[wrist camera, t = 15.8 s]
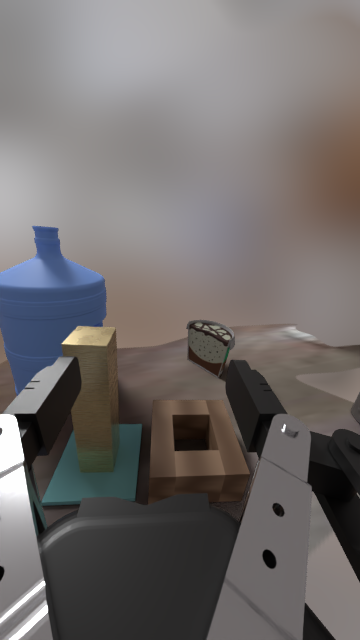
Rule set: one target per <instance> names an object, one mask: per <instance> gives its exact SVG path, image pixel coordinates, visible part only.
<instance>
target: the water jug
mask: <svg viewBox="0 0 360 640" xmlns="http://www.w3.org/2000/svg"><path fill="white" fill-rule="evenodd" d="M32 227H33V229H34V231H35V238H34V239H35V243H36V247H37V254H36V256H35V257H34V258H32V259H30V260H27V261H25V262H23V263H21V264H18V265H16V266H14V267H12V268H9V269H7V270H5V271H3V272H1V273H0V328H1V332H2V336H3V340H4V348H5V352H6V356H7V359H8V361H9V363H10V367H11V370H12V374H13V378H14V382H15V390H16V394H17V396H18V395H19V394H20V393H21V391H22V390H23V389H25V387H26V386H27V384H28V383H29V382H31V380H32V379H33V377H34V376H35V375H36V374H37V373H38V372H39V371H41V370H43V369H44V368H46V367H47V366H52V365H53V364H54V363H55V362H56V360H57V359H58V358H59V357H60V356H63V353H62V346H61V344H62V343H63V342H64V341H65V340H66V338H67V337H68V336H69V335H70V334H71V333H72V332H73V331H74V330H75V329H76V328H77V327H78V326H90V327H103V323H102V320H103V319H104V318H105V317H106V288H105V280H104V278H103V276H101V275H100V274H99V273H96V272H94V271H92V270H90V269H87V268H85V267H83V266H81V265H79V264H77V263H75V262H72V261H70V260H68V259H66V258H64V257H63V256H62V254H61V251H60V240H59V239H58V228H52V227H41V226H32Z"/></svg>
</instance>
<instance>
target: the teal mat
mask: <svg viewBox="0 0 360 640" xmlns="http://www.w3.org/2000/svg"><path fill="white" fill-rule="evenodd" d="M141 433H142V424H119V435H120V444H119V448H118V453H117V458H116V463H115V467H114V472H95V473H80V469H79V462H78V455H77V448H76V441H75V434H74V429H73V432H72V434H71V436H70V438H69V441H68V443H67V445H66V448H65V450H64V452H63V454H62V457H61V459H60V461H59V463H58V466H57V468H56V470H55V472H54V475H53V477H52V479H51V482H50V484H49V486H48V488H47V491H46V493H45V495H44V497H43V500H42V502H41V504H42V506H49V505H69V504H80V503H81V500H82V498H89V497H117V498H121V499H124V500H128V501H135V497H136V486H137V476H138V465H139V454H140V444H141Z"/></svg>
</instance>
